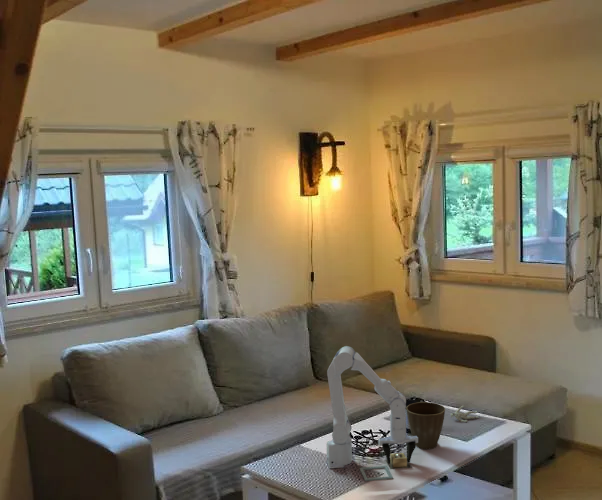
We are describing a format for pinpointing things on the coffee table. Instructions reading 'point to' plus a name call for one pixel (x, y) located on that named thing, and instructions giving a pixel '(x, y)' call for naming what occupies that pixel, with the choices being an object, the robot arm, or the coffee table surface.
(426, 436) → the plant pot
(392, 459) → the collar
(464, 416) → the soldier figure
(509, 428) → the coffee table surface
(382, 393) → the robot arm
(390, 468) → the stake
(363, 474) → the green square frame
